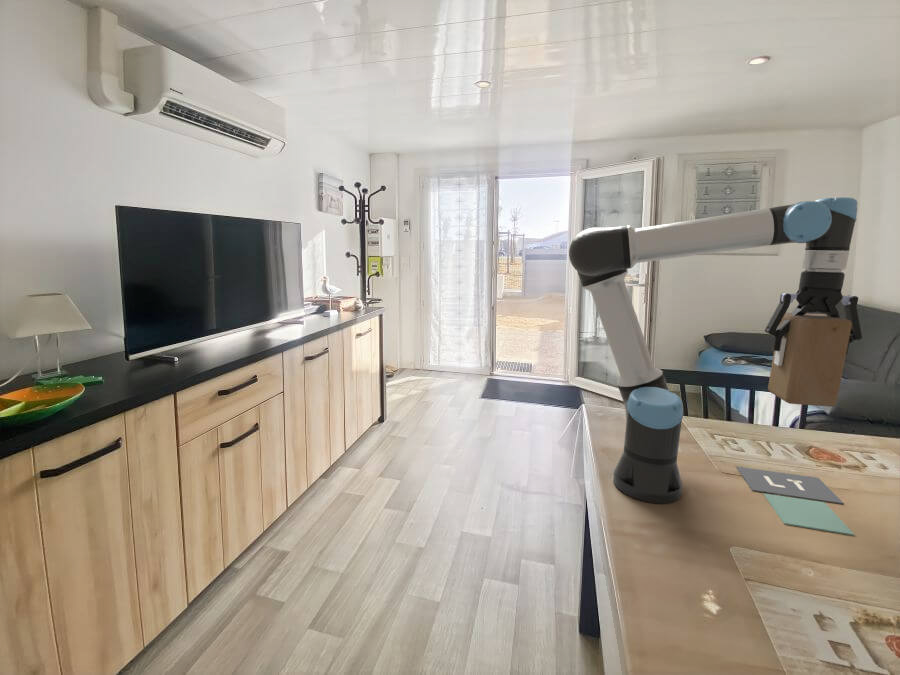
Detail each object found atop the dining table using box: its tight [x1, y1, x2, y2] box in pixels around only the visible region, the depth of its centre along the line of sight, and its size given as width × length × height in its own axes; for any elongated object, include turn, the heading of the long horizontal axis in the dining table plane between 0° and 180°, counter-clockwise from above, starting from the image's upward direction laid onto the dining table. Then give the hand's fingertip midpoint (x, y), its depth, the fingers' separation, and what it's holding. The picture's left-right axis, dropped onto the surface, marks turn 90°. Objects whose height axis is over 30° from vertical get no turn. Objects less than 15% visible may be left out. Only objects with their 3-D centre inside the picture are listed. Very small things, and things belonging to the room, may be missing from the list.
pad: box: [762, 492, 855, 536], centre depth 96 cm, size 12×12×1 cm
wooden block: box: [767, 312, 852, 408], centre depth 101 cm, size 10×10×20 cm
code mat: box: [736, 466, 845, 505], centre depth 108 cm, size 18×12×1 cm, turn 72°
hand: (805, 366), depth 102 cm, fingers closed on wooden block, 10 cm apart
